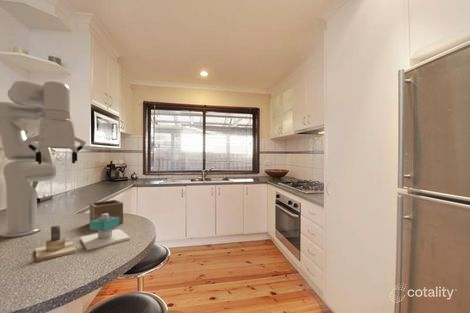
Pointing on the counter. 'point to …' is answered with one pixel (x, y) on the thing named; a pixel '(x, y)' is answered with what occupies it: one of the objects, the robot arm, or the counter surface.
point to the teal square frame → (104, 223)
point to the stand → (55, 246)
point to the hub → (104, 236)
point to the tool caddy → (106, 209)
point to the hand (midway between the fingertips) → (57, 163)
